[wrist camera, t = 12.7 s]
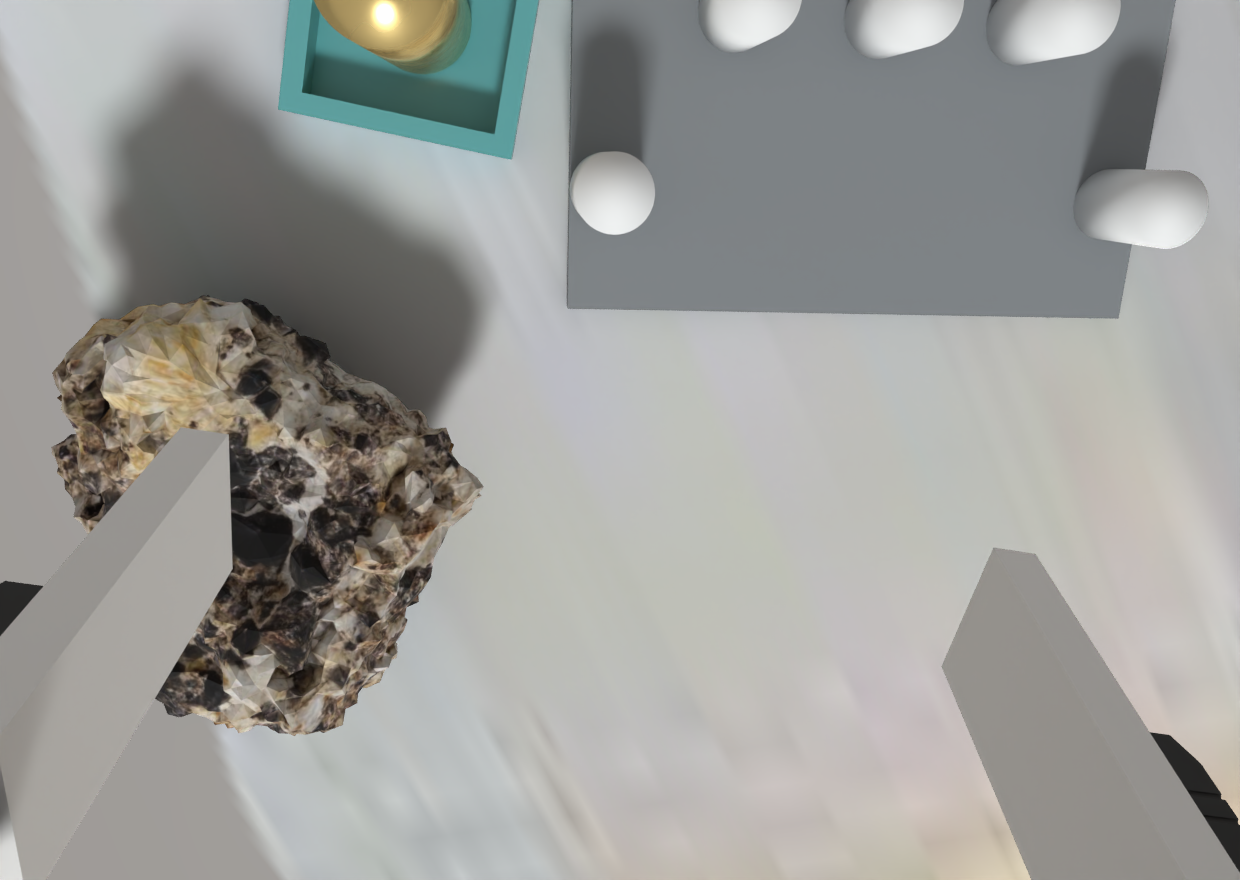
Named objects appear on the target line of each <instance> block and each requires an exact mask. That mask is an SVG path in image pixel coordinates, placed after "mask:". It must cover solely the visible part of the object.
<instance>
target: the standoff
mask: <svg viewBox="0 0 1240 880" xmlns="http://www.w3.org/2000/svg"><path fill="white" fill-rule="evenodd" d="M314 2H315V4H316V6H317V8H318V10H319V11H320V13H321V14H322V16H323V17H324V18H325V20H326V21H327V22H328V23H329V24H330V25H331V26H332V27H333V28H334V29H335V30H336V31H337V32H338V33H340V34H341V35H342V36H344V37H346V38H347V39H349V40H351V41H352V42H354V43H356V44H358V45H359V46H361V47H363V48H365V49H366V50H368V51H370V52H372V53H373V54H375V55H377V56H379V57H380V58H382V59H384V60H386V61H387V62H389V63H391V64H393V65H394V66H396V67H398V68H400V69H402V70H404V71H406V72H410V73H414V74H433V73H436V72H440V71H442V70H444V69H446V68H448V67H449V66H451V65H452V64H453V63H454V62H456V61H457V60H458V58H459V57H460V56H461V55H462V53H463V52H464V50H465V48H466V46H467V44H468V41H469V38H470V33H471V13H470V8H469V5H468V2H467V0H314Z"/></svg>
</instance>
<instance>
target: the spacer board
mask: <svg viewBox="0 0 1240 880" xmlns="http://www.w3.org/2000/svg"><path fill="white" fill-rule="evenodd" d="M1175 1H1176V0H572V28H571V89H570V151H569V212H568V273H567V308H568V309H621V310H677V311H732V312H787V313H842V314H897V315H952V316H1007V317H1062V318H1119V312H1120V307H1121V301H1122V295H1123V290H1124V284H1125V279H1126V273H1127V268H1128V262H1129V257H1130V251H1131V245H1132V244H1134V245H1141V246H1148V247H1154V248H1162V249H1170V248H1175V247H1178V246H1181V245H1183V244H1185V243H1186V242H1188V241H1189V240H1190V239H1192V238H1193V237H1194V236H1195V235H1196V234H1197V233H1198V231H1199V230H1200V229H1201V227H1202V225H1203V223H1204V222H1205V219H1206V216H1207V213H1208V207H1209V199H1208V193H1207V190H1206V188H1205V186H1204V184H1203V182H1202V181H1201V180H1200V179H1199V178H1198V177H1197V176H1195V175H1194V174H1192V173H1190V172H1186V171H1180V170H1145V168H1146V162H1147V157H1148V151H1149V145H1150V140H1151V134H1152V129H1153V123H1154V118H1155V112H1156V107H1157V101H1158V95H1159V90H1160V84H1161V79H1162V73H1163V68H1164V62H1165V57H1166V51H1167V45H1168V40H1169V34H1170V29H1171V23H1172V18H1173V12H1174V7H1175Z"/></svg>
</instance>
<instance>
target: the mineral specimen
mask: <svg viewBox="0 0 1240 880" xmlns="http://www.w3.org/2000/svg"><path fill="white" fill-rule="evenodd" d="M329 358H330V355H329V352H328V349H327V346H326V343H323V342H321V341H318V340H315V339H312V338H309V337H307V336H299V334H298V332H297V331H296V330H294V329H292V328H290V327H288V326H285V325H284V323H283V321H282V319H281V318H280V316H273V315H272V314H271V313H270V312H269V311H268V309H267V308H266V307H265V306H264V305H260V304H258V303H257V302H253V301H251V300H248V299H244V300H243V301H242V302H237V303H233V302H224V301H222V300H219V299H216V298H211V297H210V296H208V295H207V296H204V295H202V296H201V297H200V298H199V299H196V300H194V301H191V302H189V303H186V304H180V303H173V302H171V303H167V304H164V305H161V306H158V305H155V304H151V305H146V306H140V307H137V308H135V309H134V310H132V311H131V312H130V313H128V314H127V315H125V316H124V317H123V318H121V319H120V320H117V319H100V320H99V321H98V322H96V323H95V324H94V325H93V326H92V328H91V329H90V330H89V331H88V333H87V334H86V335H85V337H83V338H82V339H81V340H79V341H78V342H77V343H76V344H75V345H74V346H73V347H72V348H71V349H70V350H69V351H68V352H67V353H66V355H65V358H64V360H63V361H62V362H61V363H60V364H59V365H58V367H57V368H56V369H55V370H54V371H53V373H52V374H53V377H54V380H55V383H56V386H57V388H58V389H59V391H60V393H61V395H60V396H59V397H58V399H59V400H60V401H62V407H61V410H62V411H63V412H64V413H65V415H66V416H67V417H68V419H69V420H70V421H71V424H72V426H73V427H74V429H75V431H76V434H71V435H70V436H69V437H67V438H66V439H65V440H64V441H63V442H61V443H59V444H57V445H55V446H53V447H52V455H53V456H54V457H55V458H56V461H57V464H58V471H57V473H58V474H59V475H60V476H61V477H62V478H64V481H65V489H66V491H67V492H68V493H69V494H70V495H71V497H72V498H73V501H74V503H75V506H76V507H75V513H74V518H75V519H77V520H78V521H79V522H81V523H82V525H83V527H84V529H85V530H86V532H87V534H89V533H90V532H91V531H92V530H93V528H94V527H95V526H96V525H97V524H98V523H99V522H100V520H101V519H102V518H103V517H104V516H105V515H106V513H107V512H108V511H109V510H110V509H111V508H112V507H113V505H114V504H115V503H116V502H117V501H118V500H119V498H120V497H121V496H122V495H123V494H124V493H125V492H126V490H127V489H128V488H129V487H130V486H131V485H132V483H133V482H134V481H135V480H136V479H137V478H138V476H139V475H140V474H141V473H142V472H143V471H144V470H145V468H146V467H147V466H148V465H149V464H150V463H151V461H152V460H153V459H154V458H155V457H156V456H157V455H158V453H159V452H160V451H161V450H162V449H163V448H164V446H165V445H166V444H167V443H168V442H169V441H170V439H171V438H172V437H173V436H174V435H175V434H176V433H177V431H178V430H179V429H180V428H181V427H182V428H189V429H195V430H202V431H209V432H216V433H222V434H229V462H230V497H231V532H232V566H233V569H232V571H231V572H230V574H229V576H228V577H227V579H226V581H225V582H224V584H223V586H222V587H221V589H220V591H219V592H218V594H217V596H216V597H215V599H214V601H213V602H212V604H211V606H210V607H209V609H208V611H207V612H206V614H205V616H204V617H203V619H202V621H201V622H200V624H199V626H198V627H197V629H196V631H195V632H194V634H193V636H192V637H191V639H190V641H189V642H188V644H187V646H186V647H185V649H184V651H183V652H182V654H181V656H180V657H179V659H178V661H177V662H176V664H175V666H174V667H173V669H172V671H171V672H170V674H169V676H168V677H167V679H166V681H165V682H164V684H163V686H162V687H161V689H160V691H159V692H158V694H157V696H156V698H155V699H157V700H158V701H160V702H162V703H164V706H165V708H166V711H167V713H168V714H169V715H173V716H177V717H182V716H185V715H188V714H191V713H195V714H198V715H200V716H204V717H207V718H208V719H210V720H212V721H213V722H214V724H215V725H217V724H225V725H226V726H227V728H233V727H235V729H236V730H237V731H238V733H242V732H246V731H250V730H251V729H252V728H253V727H254V726H255V725H262V726H268V727H269V728H270V729H272V730H273V731H274V730H275V731H276V732H278V733H289V734H291V735H293V736H295V735H296V734H310V733H314V732H318V731H320V732H322V733H324V732H327V731H329V730H331V729H333V728H336V727H338V726H341V725H343V720H344V714H345V709H346V708H348V707H350V706H352V705H354V704H356V703H357V698H358V693H359V691H360V690H361V689H362V688H367V687H370V686H372V685H374V684H376V683H379V682H380V681H381V678H382V675H383V673H384V671H385V669H386V668H388V667H389V665H390V663H391V660H392V659H394V658H396V657H397V643H396V641H397V639H398V638H399V637H400V635H401V634H402V632H403V631H404V628H405V625H406V622H407V619H406V618H404V617H405V612H406V607H408V606H411V605H413V604H415V603H417V602H419V599H418V595H419V593H420V592H421V591H422V590H423V589H424V587H425V585H426V584H427V582H428V581H429V579H430V577H431V572H432V566H433V560H434V557H435V555H436V553H437V551H438V550H439V548H440V546H441V544H442V542H443V540H444V538H445V535H446V533H447V531H448V528H449V527H450V526H453V525H454V524H455V523H456V522H457V521H459V520H460V519H461V518H462V517H463V516H464V515H466V514H467V513H468V512H469V511H470V510H471V507H472V504H473V502H474V500H475V499H477V498H478V497H480V496H481V495H480V494H479V492H480V491H481V490H482V488H483V486H482V484H481V483H480V481H479V480H478V478H477V477H476V476H474V475H473V474H472V473H471V472H469V471H468V470H467V469H466V468H464V467H462V466H460V464H459V463H458V462H457V460H456V459H455V458H454V457H453V455H452V452H451V451H452V448H453V446H454V444H453V443H451V440H450V437H449V435H448V432H447V429H446V428H441V429H432V428H429V427H428V423H427V419H426V416H425V415H424V414H423V413H422V412H421V411H420V410H419V409H418V410H408V409H407V408H406V407H405V405H404V404H403V403H402V402H401V401H400V400H399V399H398V398H397V397H396V396H394V395H393V394H392V393H390V392H389V391H387V389H385V388H384V387H382V386H380V385H378V384H376V383H375V382H373V381H367V380H364V379H361V378H359V377H356V376H354V375H351V374H347V373H346V372H345V371H343V370H342V369H341V368H340V367H339V366H337V365H336V364H334V363H333V362H331V361H329V360H328V359H329Z"/></svg>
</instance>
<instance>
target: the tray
mask: <svg viewBox="0 0 1240 880" xmlns="http://www.w3.org/2000/svg"><path fill="white" fill-rule="evenodd" d="M467 2H468V5H469V8H470V13H471V33H470V38H469V41H468V44H467V46H466V48H465V50H464V52H463V53H462V55H461V56H460V57H459V58H458V60H457V61H456V62H454V63H453V64H452V65H451V66H449V67H448V68H446V69H444V70H442V71H440V72H436V73H433V74H414V73H410V72H406V71H404V70H402V69H400V68H398V67H396V66H394V65H393V64H391V63H389V62H387V61H386V60H384V59H382V58H380V57H379V56H377V55H375V54H373V53H372V52H370V51H368V50H366V49H365V48H363V47H361V46H359V45H358V44H356V43H354V42H352V41H351V40H349V39H347V38H346V37H344V36H342V35H341V34H340V33H338V32H337V31H336V30H335V29H334V28H333V27H332V26H331V25H330V24H329V23H328V22H327V21H326V20H325V18H324V17H323V16H322V14H321V13H320V11H319V10H318V8H317V6H316V4H315V2H314V0H290V3H289V12H288V21H287V30H286V40H285V49H284V58H283V68H282V77H281V86H280V96H279V105H278V110H283V111H288V112H292V113H297V114H302V115H306V116H311V117H316V118H320V119H325V120H330V121H334V122H339V123H344V124H348V125H353V126H357V127H362V128H367V129H371V130H376V131H381V132H385V133H390V134H395V135H399V136H404V137H409V138H413V139H418V140H422V141H427V142H432V143H436V144H441V145H446V146H450V147H455V148H460V149H464V150H469V151H474V152H478V153H483V154H488V155H492V156H497V157H501V158H506V159H512V157H513V151H514V145H515V139H516V133H517V128H518V122H519V116H520V110H521V104H522V98H523V93H524V87H525V81H526V75H527V69H528V63H529V58H530V52H531V46H532V40H533V34H534V28H535V23H536V17H537V11H538V5H539V0H467Z"/></svg>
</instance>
